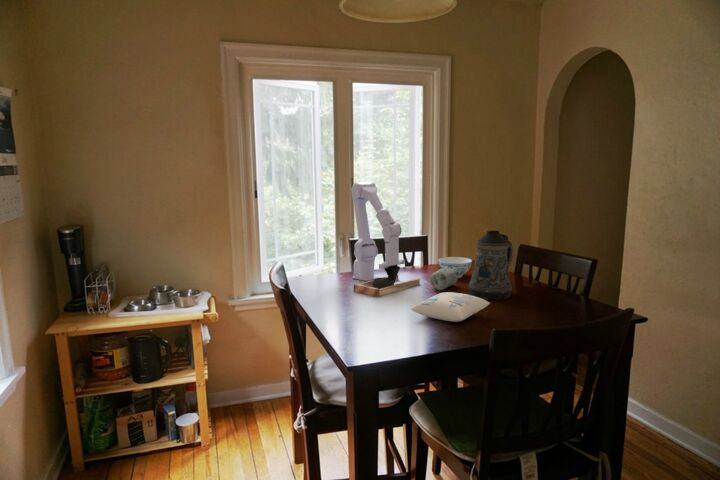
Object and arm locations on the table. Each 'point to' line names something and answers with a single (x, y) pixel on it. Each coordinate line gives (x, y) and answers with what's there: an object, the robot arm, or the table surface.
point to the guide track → (369, 290)
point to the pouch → (450, 306)
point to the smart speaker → (382, 282)
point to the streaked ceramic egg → (443, 278)
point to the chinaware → (456, 264)
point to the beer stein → (492, 267)
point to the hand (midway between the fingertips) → (392, 282)
